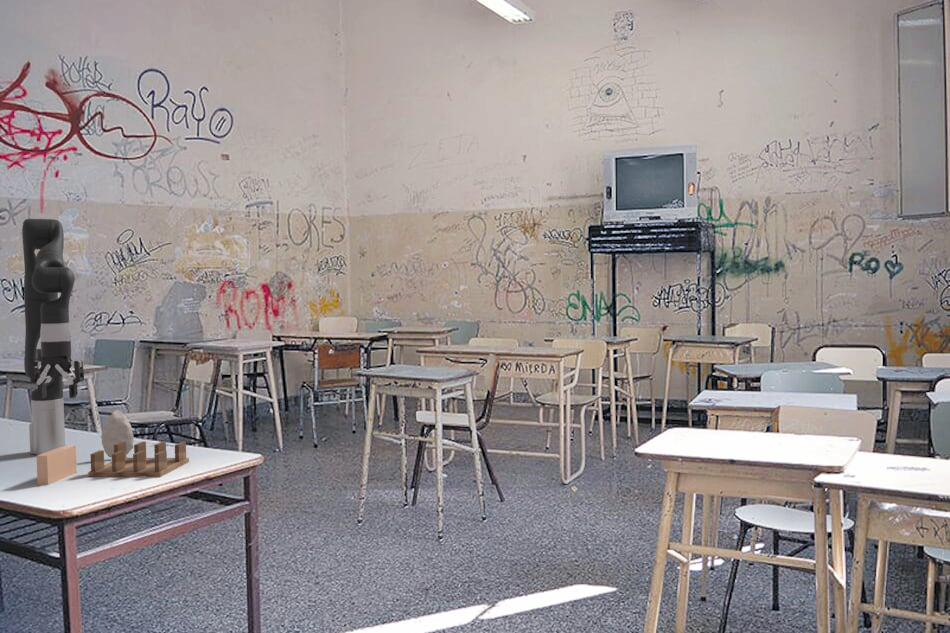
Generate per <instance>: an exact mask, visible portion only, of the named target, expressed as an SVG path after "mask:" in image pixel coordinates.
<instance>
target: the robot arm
mask: <svg viewBox="0 0 950 633" xmlns="http://www.w3.org/2000/svg"><path fill="white" fill-rule="evenodd" d="M64 234H65V233H64V227H63V225H62V223H61V222H60V220H57V219H52V218H49V219H48V218H27V219H25V220H23V223H22V229H21V236H22V248H23V251H22V252H23V263H24V292H23V294H24V296H23V297H24V300H23V301H24V302H23V303H24V319H25V320H24V322H25V335H24V336H25V337H24V338H25V339H24V340H25V344H24V358H23V360H24V361H23V363H24V364H23V366H24V373H25V376H26V378H28V379H30V380H29V382H30V383H33V384H36V385H37V388H35V389H33V390H32V391H31V393H30V399H31V400H30V406H31V423H29V424H28V428H29V432H28V433H29V451H30V452H29V454H31V455H32V454H33V455H36V456H37V455H40V454H43V453H46V452H48V451H51V450H54V449H57V448H60V447H62V446H65V445H66V437H65V436H66V431H65V428H66V426H65V407H64V406H65V404H64V386H63V384H64V383H63V381H64V380H63V378H64V379H65V380H66V381H67V382H68V383H69V384H68V395H69V399H75V398H76V397H77V396H78V385H79V383H81V382H84V381H85V373H84V372H85V371H84V361H83V360H82V359H77V360H72V335H71V334H72V333H71V326H70V312H69V309H70V308H69V307H70V302H71V301H70V299H71V296H72V292H73V289H74V285H75V281H76V280H75V273H74V271H73V270H72V269H71V268H69V267H66V266H65V261H64V245H65V241H64V240H65V239H64V238H65V236H64ZM36 250H39V251H38V252H37V254H36ZM59 293H60V296H59V295H58V294H59ZM58 296H59V297H58ZM39 340H40V341H39ZM39 342H40V348H38V344H39ZM71 368H73V369H74V371H73V370H72V369H71ZM49 379H50V381H48V380H49ZM47 381H48V382H47Z"/></svg>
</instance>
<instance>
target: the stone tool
mask: <svg viewBox="0 0 950 633" xmlns="http://www.w3.org/2000/svg"><path fill="white" fill-rule="evenodd" d="M100 438H101V445H102V448H103V450H104V453H105V454H106V455H107V457H109V458H111V459H112V454H113V453H114V445H115V444H117V443H120V442H122V441H125V442H126V455H129V453H130V451H132V450H134V439H135V437H134V433H133V428H132V425H131V423H130V421H129V420H128V417H127V416H126V415H125V414H123V412H122V411H121V410H119V409H115V410H114V411H113V412H112V413H111V414H110V416H109V417H108V418H107V419H106V420H105V422H104V426H103V430H102V432H101V436H100Z"/></svg>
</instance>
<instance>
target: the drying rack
mask: <svg viewBox="0 0 950 633" xmlns="http://www.w3.org/2000/svg"><path fill="white" fill-rule="evenodd" d="M153 447H154V450H153V451H154V455H153V456H154V457H147V442H146V441H140V442H138V443H135V444H133V451H134V453H133V454H132V457H127V456H128V454H126V442H125V441H122V442H120V443H117V444H115V445H114V453H113V454H112V458H111V461H110V462H108V463H105V454H104V453H105V451H104V449H103V450H101V449H100V450H98V451H95V452H92V453H90V470H89V471H88V472H87V477H99V478H100V477H103V478H104V477H105V478H106V477H109V478H110V477H116V478H118V477H121V478H125V477H126V478H127V477H128V478H129V477H130V478H131V477H132V478H133V477H135V478H138V477H137V476H146V477H145V478H161V477H163V476H165V475H167V474H168V473H171V472H172V471H174V470H177V469H178V468H180V467H182V466H184V465H186V464H188V463H189V462H190V457H187V442H186V441H180V442H179V443H176V444H175V445H174V457H167V455H168V454H167V453H168V452H167V442H166V441H160V442H158V443H155V444H154V445H153Z"/></svg>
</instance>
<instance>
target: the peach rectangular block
mask: <svg viewBox="0 0 950 633" xmlns="http://www.w3.org/2000/svg"><path fill="white" fill-rule="evenodd" d="M76 449H77V448H76V445H72V444H71V445H70V444H69V445H68V444H67V445H66V444H65V446H62V447H60V448H57V449H54V450H51V451H48V452H46V453H43V454H40V455H36V476H37V477H36V478H37V479H36V480H37V481H36V482H37V486H43V485H44V486H49V485H52V484H53V483H56V482H58V481H60V480H62V479H66V478H68V477H70V476H72V475H74V474H77V473H78V472H77V451H76Z"/></svg>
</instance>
